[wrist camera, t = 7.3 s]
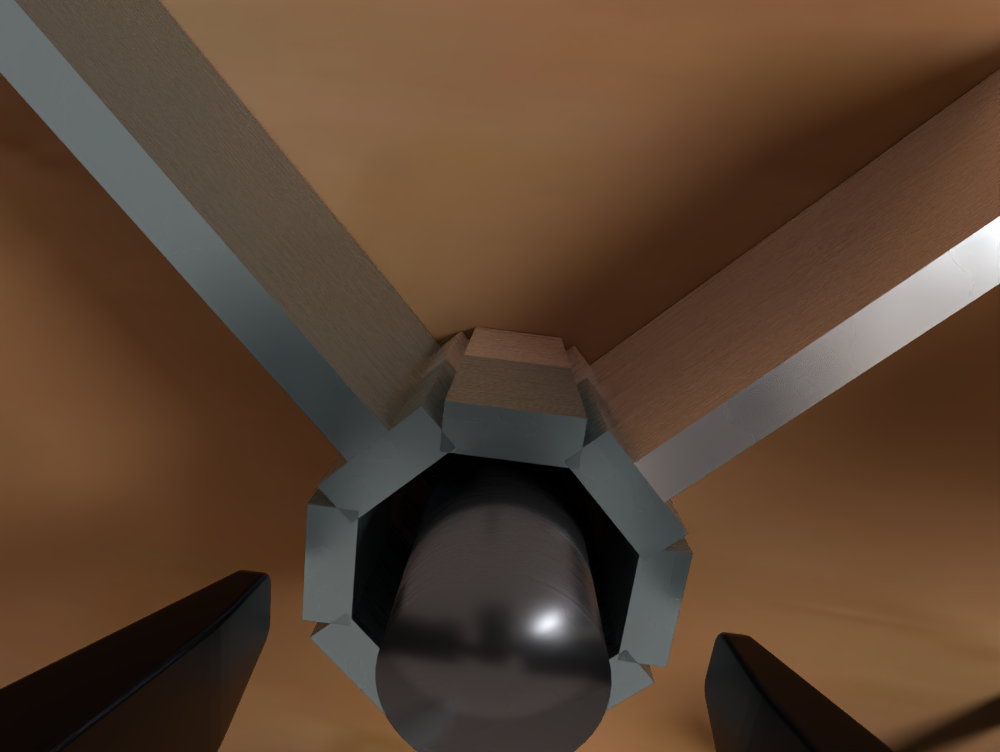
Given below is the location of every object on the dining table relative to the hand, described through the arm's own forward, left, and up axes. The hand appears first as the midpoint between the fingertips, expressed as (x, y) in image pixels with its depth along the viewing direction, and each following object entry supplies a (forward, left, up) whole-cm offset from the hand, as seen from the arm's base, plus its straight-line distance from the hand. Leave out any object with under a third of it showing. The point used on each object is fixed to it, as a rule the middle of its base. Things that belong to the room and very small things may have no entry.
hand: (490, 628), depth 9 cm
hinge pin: (0, 0, -7) cm, 7 cm away
